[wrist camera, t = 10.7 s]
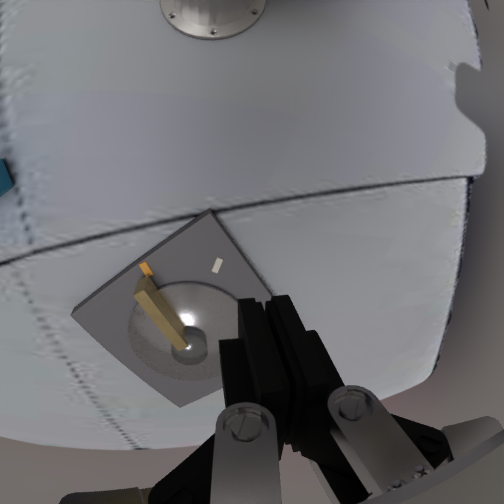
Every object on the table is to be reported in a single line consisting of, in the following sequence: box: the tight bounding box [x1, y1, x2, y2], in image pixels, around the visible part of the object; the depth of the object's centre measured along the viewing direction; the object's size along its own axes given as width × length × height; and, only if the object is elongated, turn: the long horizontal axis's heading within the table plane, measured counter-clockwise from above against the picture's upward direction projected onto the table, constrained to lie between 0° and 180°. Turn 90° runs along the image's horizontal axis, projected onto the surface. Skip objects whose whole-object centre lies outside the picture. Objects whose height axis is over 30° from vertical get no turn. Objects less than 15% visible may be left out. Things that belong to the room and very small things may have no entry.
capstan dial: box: [128, 276, 238, 381], centre depth 40 cm, size 20×18×4 cm
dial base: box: [70, 208, 273, 407], centre depth 44 cm, size 26×26×2 cm
